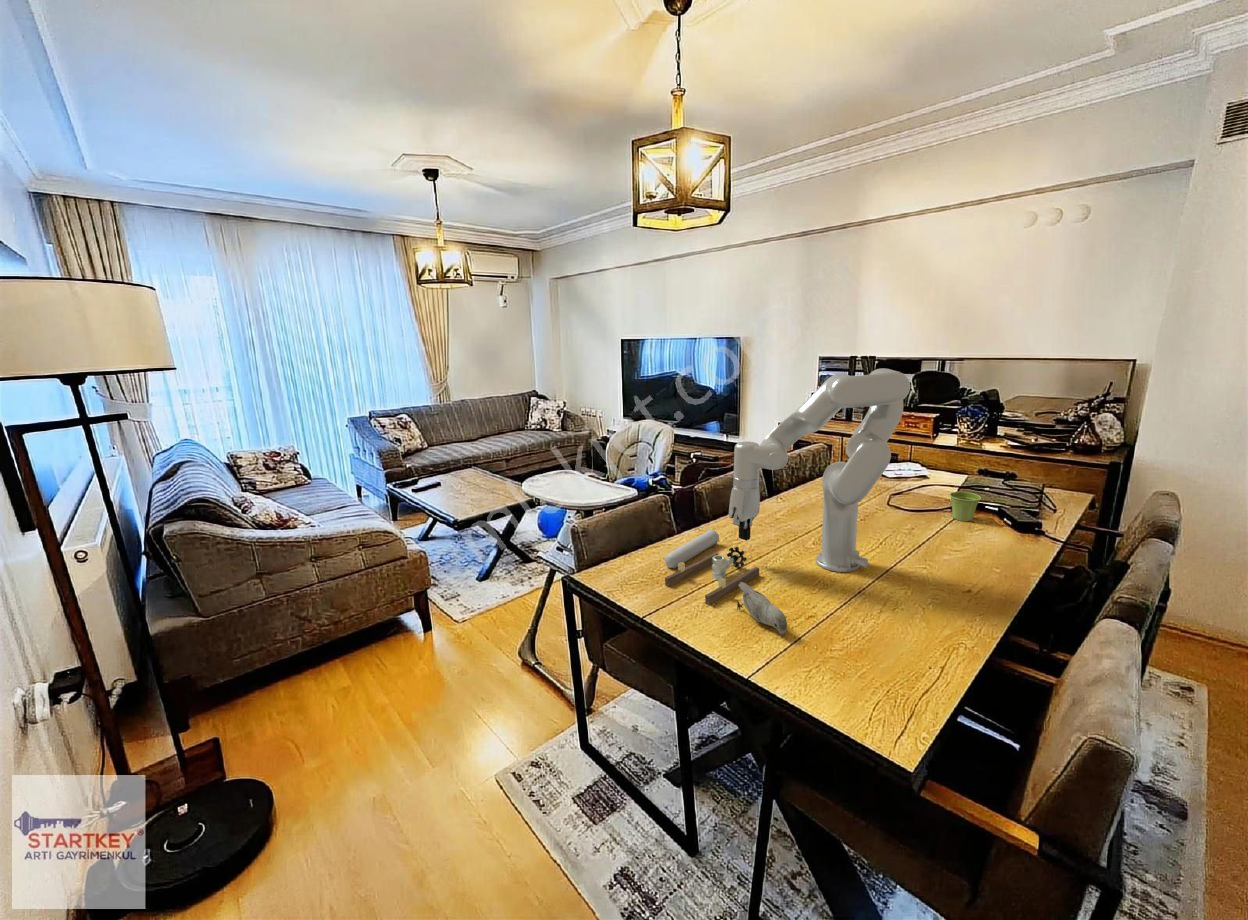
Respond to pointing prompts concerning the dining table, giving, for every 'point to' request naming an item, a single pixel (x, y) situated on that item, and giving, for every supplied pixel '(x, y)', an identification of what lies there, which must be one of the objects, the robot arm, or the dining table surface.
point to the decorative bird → (762, 609)
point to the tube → (692, 548)
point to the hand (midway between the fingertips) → (744, 538)
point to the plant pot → (964, 505)
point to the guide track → (723, 586)
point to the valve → (726, 563)
